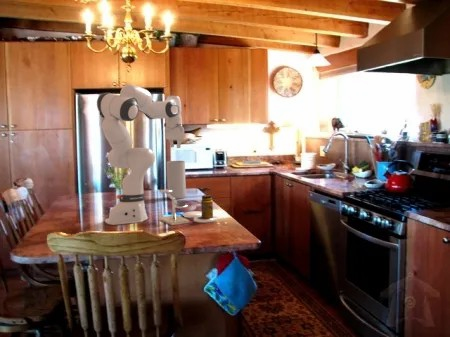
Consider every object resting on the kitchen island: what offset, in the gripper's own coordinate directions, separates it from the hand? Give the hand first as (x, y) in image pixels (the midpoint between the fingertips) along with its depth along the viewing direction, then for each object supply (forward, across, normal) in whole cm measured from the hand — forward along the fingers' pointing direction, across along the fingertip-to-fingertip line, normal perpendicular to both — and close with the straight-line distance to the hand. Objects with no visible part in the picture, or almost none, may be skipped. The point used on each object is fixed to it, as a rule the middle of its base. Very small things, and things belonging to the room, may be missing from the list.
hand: (175, 147), depth 271 cm
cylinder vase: (+37, +42, -18) cm, 59 cm away
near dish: (+37, -34, -1) cm, 51 cm away
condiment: (+36, -34, -1) cm, 50 cm away
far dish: (+37, -20, -1) cm, 42 cm away
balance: (+37, -27, +14) cm, 48 cm away
